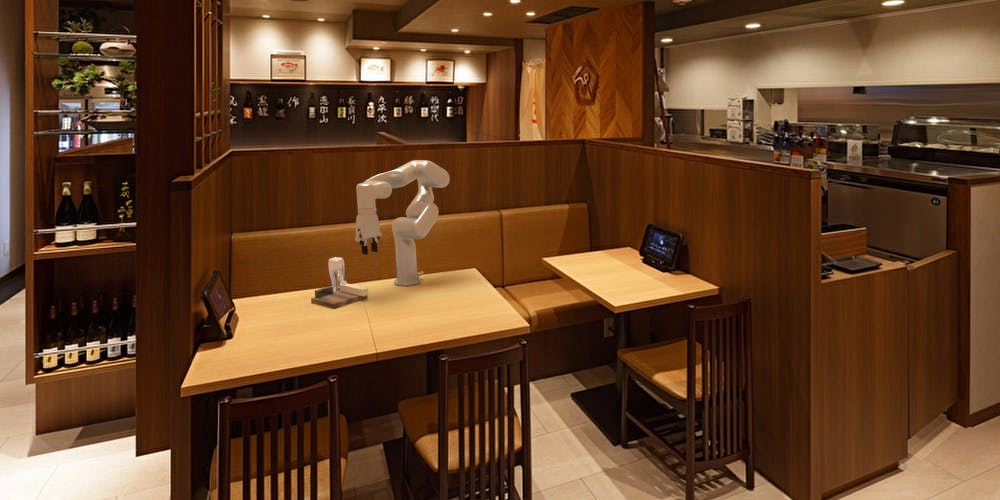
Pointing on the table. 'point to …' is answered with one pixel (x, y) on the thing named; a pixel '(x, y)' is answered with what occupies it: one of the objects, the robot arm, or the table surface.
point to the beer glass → (336, 272)
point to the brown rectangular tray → (334, 298)
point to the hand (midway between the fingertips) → (369, 252)
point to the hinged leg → (353, 289)
